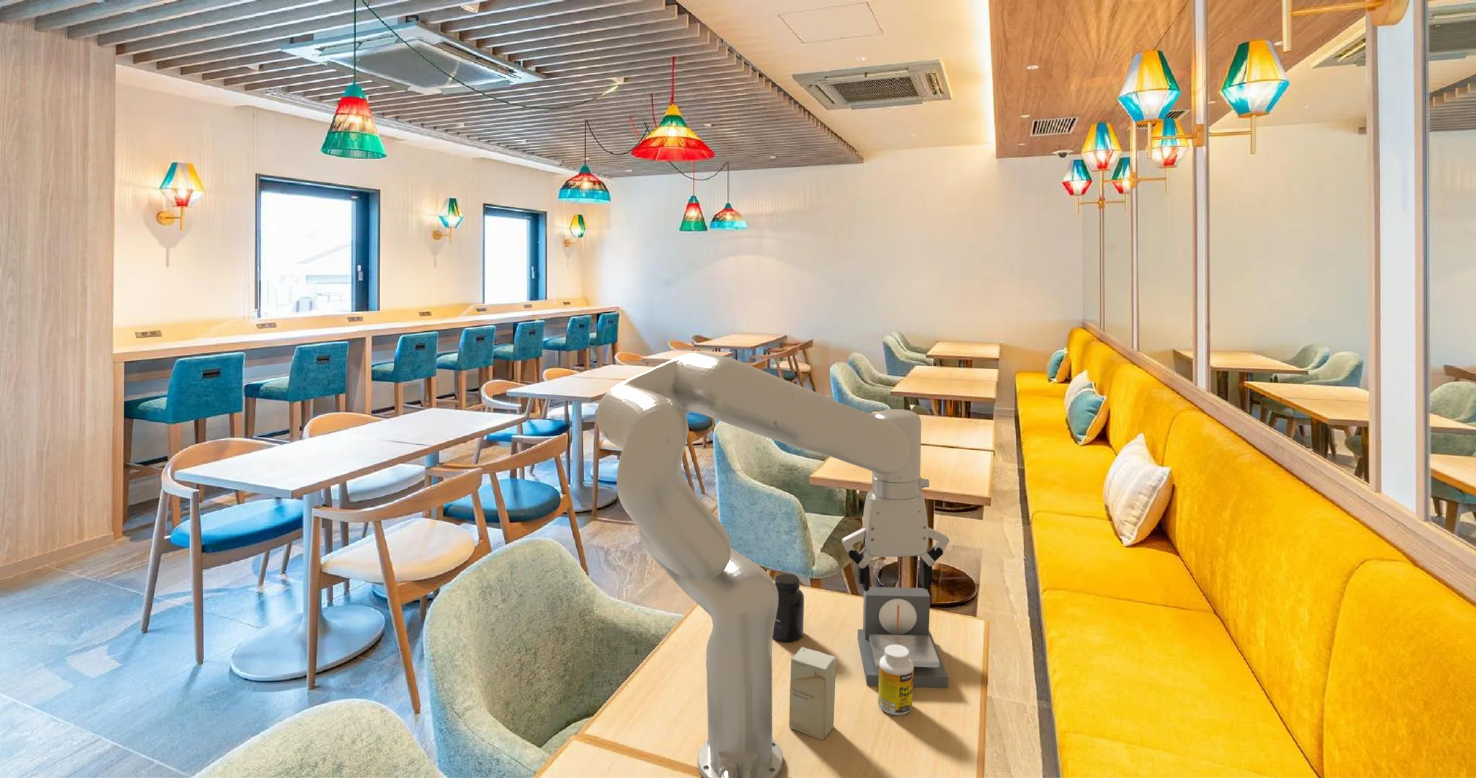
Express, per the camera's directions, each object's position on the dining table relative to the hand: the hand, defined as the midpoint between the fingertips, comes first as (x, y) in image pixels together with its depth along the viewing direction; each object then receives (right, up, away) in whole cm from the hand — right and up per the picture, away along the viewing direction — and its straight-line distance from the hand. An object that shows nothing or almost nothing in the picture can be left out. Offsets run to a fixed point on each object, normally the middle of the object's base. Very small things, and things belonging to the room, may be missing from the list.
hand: (894, 586), depth 117 cm
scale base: (+4, -18, +15) cm, 24 cm away
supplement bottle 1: (-16, -17, +25) cm, 35 cm away
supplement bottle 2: (0, -21, +2) cm, 21 cm away
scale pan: (+4, -16, +12) cm, 21 cm away
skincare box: (-14, -22, -3) cm, 26 cm away
